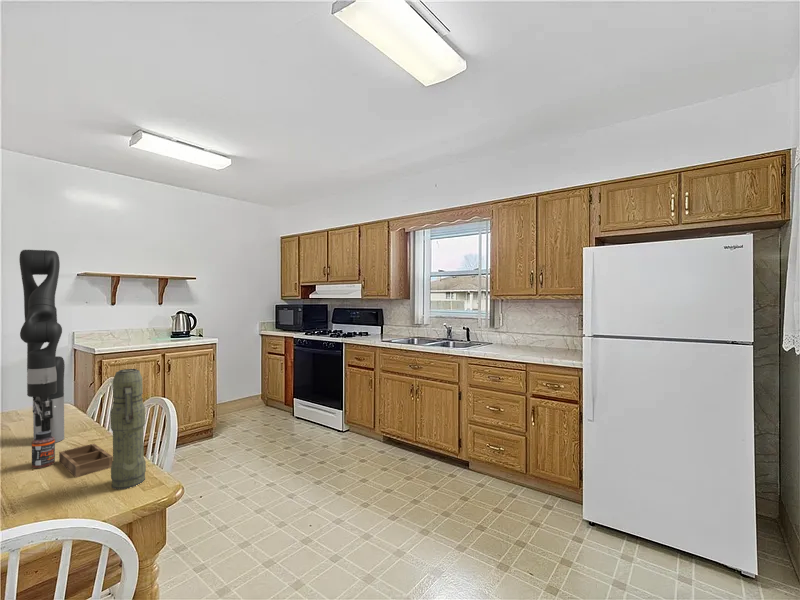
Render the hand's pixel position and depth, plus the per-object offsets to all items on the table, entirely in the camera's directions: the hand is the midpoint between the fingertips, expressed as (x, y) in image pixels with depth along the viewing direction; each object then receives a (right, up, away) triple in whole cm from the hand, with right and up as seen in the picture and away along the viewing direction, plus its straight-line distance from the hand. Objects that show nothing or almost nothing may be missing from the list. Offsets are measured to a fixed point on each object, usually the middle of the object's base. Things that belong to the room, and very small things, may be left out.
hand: (42, 428), depth 138 cm
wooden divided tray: (+14, -13, +1) cm, 19 cm away
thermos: (+37, -13, -12) cm, 41 cm away
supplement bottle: (0, -13, 0) cm, 13 cm away
